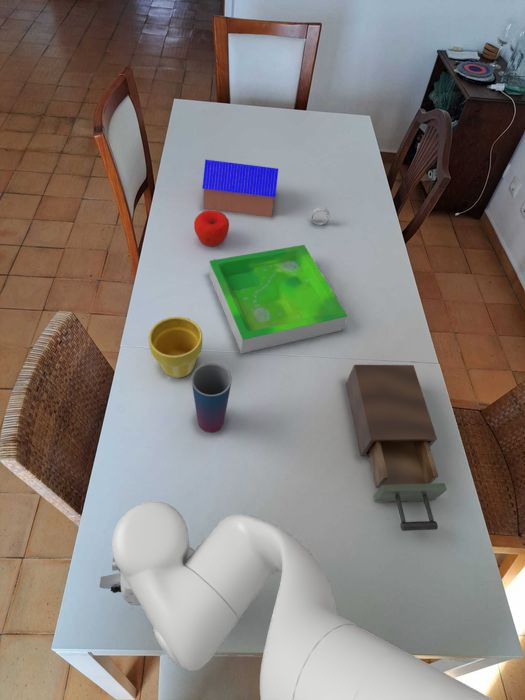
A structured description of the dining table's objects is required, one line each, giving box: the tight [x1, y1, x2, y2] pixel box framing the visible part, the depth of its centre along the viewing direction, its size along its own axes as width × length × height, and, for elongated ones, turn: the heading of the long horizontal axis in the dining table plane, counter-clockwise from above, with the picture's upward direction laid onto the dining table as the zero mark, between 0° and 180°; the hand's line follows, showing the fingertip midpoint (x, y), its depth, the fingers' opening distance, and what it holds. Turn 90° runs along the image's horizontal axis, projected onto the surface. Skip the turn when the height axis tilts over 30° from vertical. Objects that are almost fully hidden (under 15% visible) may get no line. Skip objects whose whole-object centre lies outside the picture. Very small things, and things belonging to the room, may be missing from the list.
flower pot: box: [148, 316, 203, 379], centre depth 92 cm, size 10×10×10 cm
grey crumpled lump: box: [310, 207, 330, 226], centre depth 128 cm, size 3×5×5 cm, turn 90°
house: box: [202, 158, 279, 218], centre depth 128 cm, size 12×20×12 cm, turn 87°
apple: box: [193, 209, 230, 247], centre depth 118 cm, size 9×9×8 cm
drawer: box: [368, 441, 448, 532], centre depth 83 cm, size 21×11×5 cm, turn 4°
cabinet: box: [345, 364, 438, 457], centre depth 91 cm, size 17×13×7 cm
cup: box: [191, 362, 233, 434], centre depth 83 cm, size 7×7×15 cm
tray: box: [209, 244, 348, 354], centre depth 108 cm, size 25×25×5 cm
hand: (168, 589), depth 68 cm, fingers open, 8 cm apart
